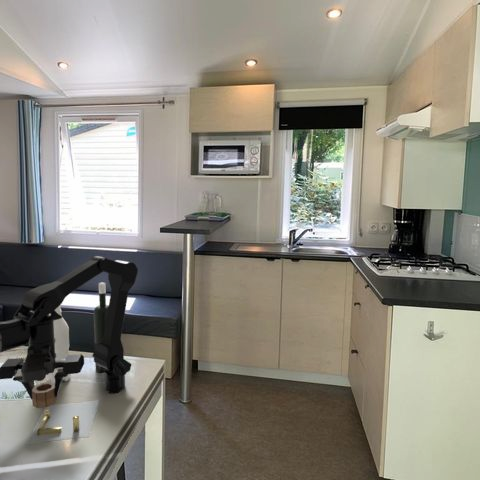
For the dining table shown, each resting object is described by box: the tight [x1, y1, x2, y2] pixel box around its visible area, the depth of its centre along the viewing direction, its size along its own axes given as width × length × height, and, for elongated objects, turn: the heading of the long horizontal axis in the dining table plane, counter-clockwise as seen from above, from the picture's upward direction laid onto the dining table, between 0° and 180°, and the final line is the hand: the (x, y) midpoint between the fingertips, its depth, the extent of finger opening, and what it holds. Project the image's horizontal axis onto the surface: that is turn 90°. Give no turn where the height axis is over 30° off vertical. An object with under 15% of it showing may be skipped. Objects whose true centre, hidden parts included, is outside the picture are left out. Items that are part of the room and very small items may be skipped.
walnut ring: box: [31, 381, 58, 409], centre depth 95 cm, size 5×5×4 cm
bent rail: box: [37, 409, 62, 436], centre depth 95 cm, size 8×6×2 cm
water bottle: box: [45, 305, 72, 384], centre depth 116 cm, size 7×7×25 cm
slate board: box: [25, 400, 100, 445], centre depth 97 cm, size 16×14×1 cm
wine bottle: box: [93, 282, 109, 374], centre depth 124 cm, size 6×6×30 cm
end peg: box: [73, 416, 79, 432], centre depth 92 cm, size 1×1×4 cm
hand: (44, 397), depth 96 cm, fingers closed on walnut ring, 5 cm apart
